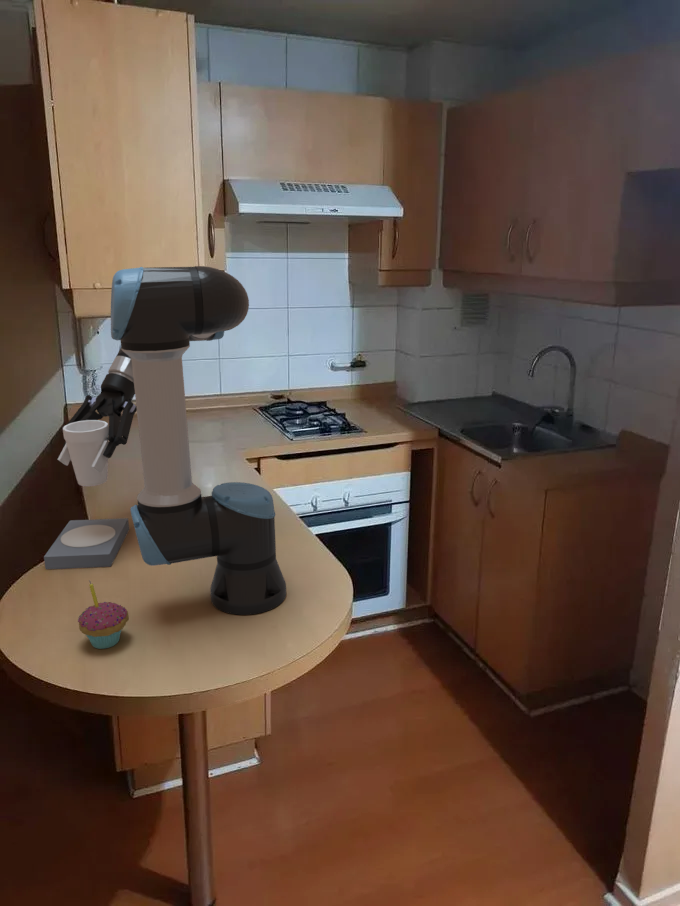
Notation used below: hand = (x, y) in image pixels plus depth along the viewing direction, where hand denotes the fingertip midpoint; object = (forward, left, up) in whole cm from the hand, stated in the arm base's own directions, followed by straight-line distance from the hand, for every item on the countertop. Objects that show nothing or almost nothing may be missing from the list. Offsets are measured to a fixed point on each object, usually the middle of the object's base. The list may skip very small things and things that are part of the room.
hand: (79, 466), depth 155 cm
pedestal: (+3, +1, -21) cm, 22 cm away
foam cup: (+3, -2, -5) cm, 6 cm away
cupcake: (-37, -12, -22) cm, 44 cm away
